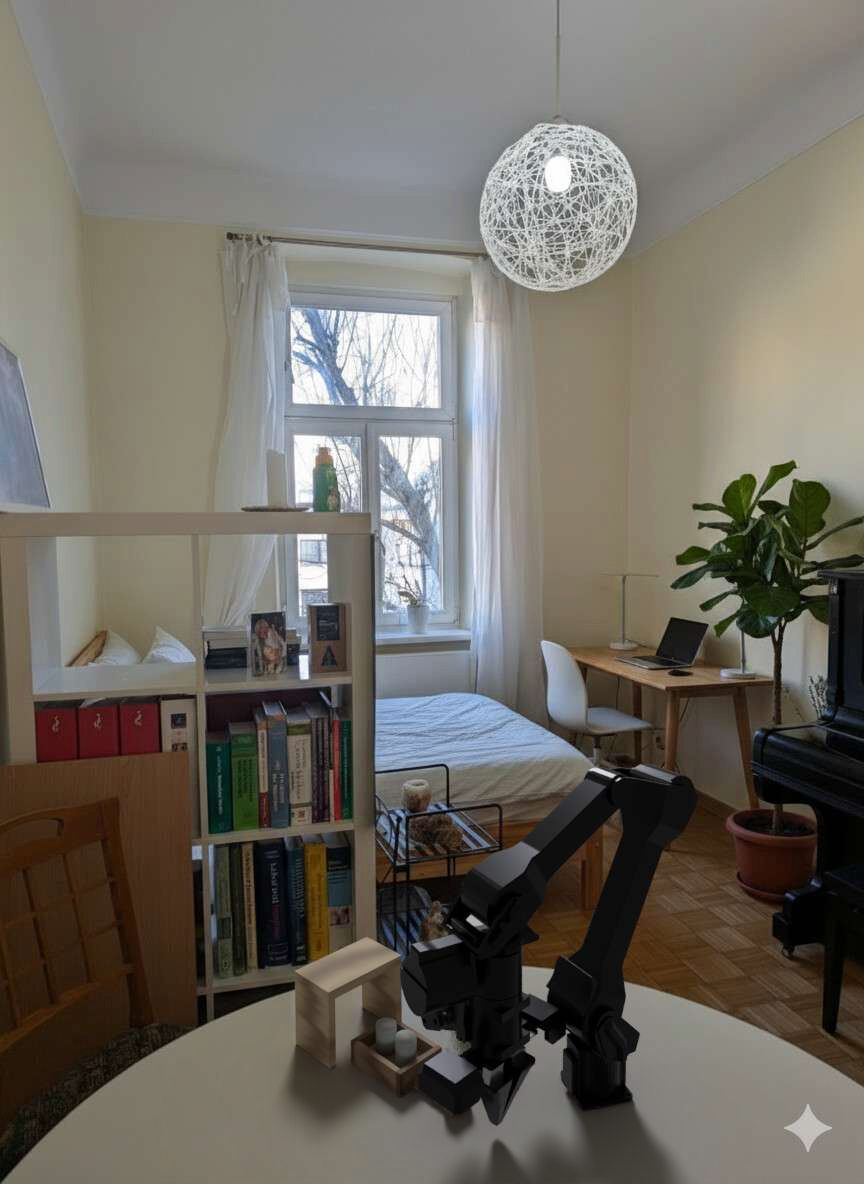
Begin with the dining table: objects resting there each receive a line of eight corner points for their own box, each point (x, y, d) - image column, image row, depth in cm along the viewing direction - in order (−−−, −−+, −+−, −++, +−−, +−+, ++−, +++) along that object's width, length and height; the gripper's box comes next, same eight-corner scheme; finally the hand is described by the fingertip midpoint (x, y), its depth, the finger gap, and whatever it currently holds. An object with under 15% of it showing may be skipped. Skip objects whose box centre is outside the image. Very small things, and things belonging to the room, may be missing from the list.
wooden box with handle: (481, 1094, 94) (481, 1057, 93) (440, 1126, 89) (440, 1086, 88) (392, 1036, 104) (392, 1003, 104) (351, 1062, 99) (350, 1026, 99)
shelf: (401, 1025, 107) (401, 955, 106) (329, 1068, 98) (328, 992, 98) (367, 1003, 112) (366, 936, 111) (296, 1043, 103) (294, 970, 103)
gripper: (494, 929, 99) (494, 1050, 100) (381, 991, 85) (382, 1129, 87) (569, 963, 91) (568, 1093, 92) (458, 1036, 78) (458, 1188, 79)
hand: (495, 1122), depth 87 cm, fingers closed
